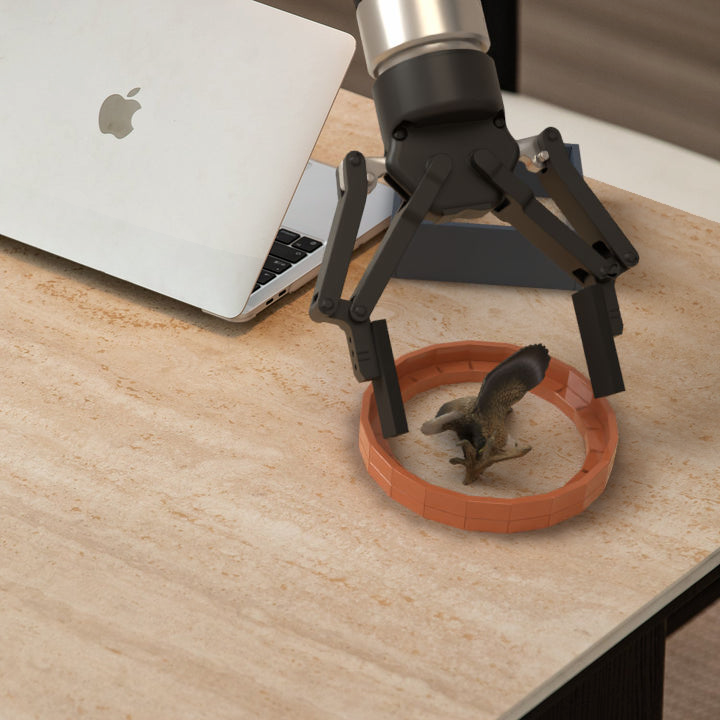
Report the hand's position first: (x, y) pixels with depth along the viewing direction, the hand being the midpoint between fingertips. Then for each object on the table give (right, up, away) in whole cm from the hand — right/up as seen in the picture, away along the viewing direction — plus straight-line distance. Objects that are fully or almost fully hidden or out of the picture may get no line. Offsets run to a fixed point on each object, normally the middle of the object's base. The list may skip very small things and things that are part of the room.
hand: (505, 415), depth 72 cm
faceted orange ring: (-1, -2, +4) cm, 5 cm away
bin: (+1, +12, +24) cm, 28 cm away
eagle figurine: (-1, -2, +4) cm, 5 cm away
